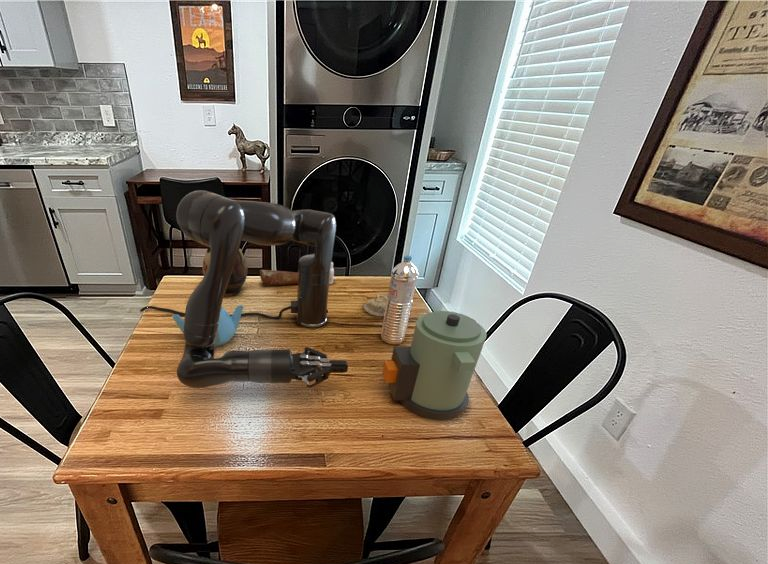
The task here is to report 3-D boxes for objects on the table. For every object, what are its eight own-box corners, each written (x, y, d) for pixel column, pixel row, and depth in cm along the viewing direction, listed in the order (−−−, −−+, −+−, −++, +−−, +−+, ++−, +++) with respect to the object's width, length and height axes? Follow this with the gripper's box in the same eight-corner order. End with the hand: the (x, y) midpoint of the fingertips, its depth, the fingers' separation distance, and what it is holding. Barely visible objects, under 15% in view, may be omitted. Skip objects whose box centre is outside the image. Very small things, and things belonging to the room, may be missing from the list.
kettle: (400, 428, 83) (421, 344, 71) (378, 367, 102) (391, 291, 89) (482, 428, 83) (517, 344, 71) (445, 367, 102) (468, 292, 90)
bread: (259, 281, 146) (259, 267, 143) (309, 280, 148) (310, 266, 145) (260, 288, 141) (259, 273, 138) (311, 287, 143) (312, 272, 139)
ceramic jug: (243, 280, 147) (239, 197, 130) (252, 297, 135) (248, 208, 118) (198, 284, 143) (187, 199, 126) (203, 302, 131) (191, 211, 114)
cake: (398, 309, 130) (402, 295, 127) (385, 321, 123) (389, 306, 120) (371, 299, 134) (374, 285, 131) (358, 310, 128) (361, 295, 124)
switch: (385, 382, 87) (388, 370, 85) (382, 373, 90) (384, 360, 88) (396, 382, 87) (399, 370, 85) (392, 373, 90) (395, 360, 88)
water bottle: (404, 346, 110) (422, 262, 95) (380, 344, 111) (394, 260, 97) (403, 334, 115) (420, 253, 101) (380, 332, 116) (394, 251, 102)
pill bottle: (334, 281, 148) (335, 261, 143) (331, 285, 144) (333, 265, 140) (323, 279, 149) (324, 260, 144) (320, 283, 145) (321, 264, 141)
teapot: (248, 331, 116) (246, 299, 110) (219, 356, 105) (215, 321, 99) (206, 320, 121) (202, 288, 115) (175, 342, 110) (168, 308, 104)
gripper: (269, 370, 78) (353, 370, 79) (270, 336, 89) (344, 336, 89) (269, 398, 83) (349, 398, 83) (270, 363, 93) (341, 363, 94)
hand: (347, 366), depth 86 cm, fingers closed
